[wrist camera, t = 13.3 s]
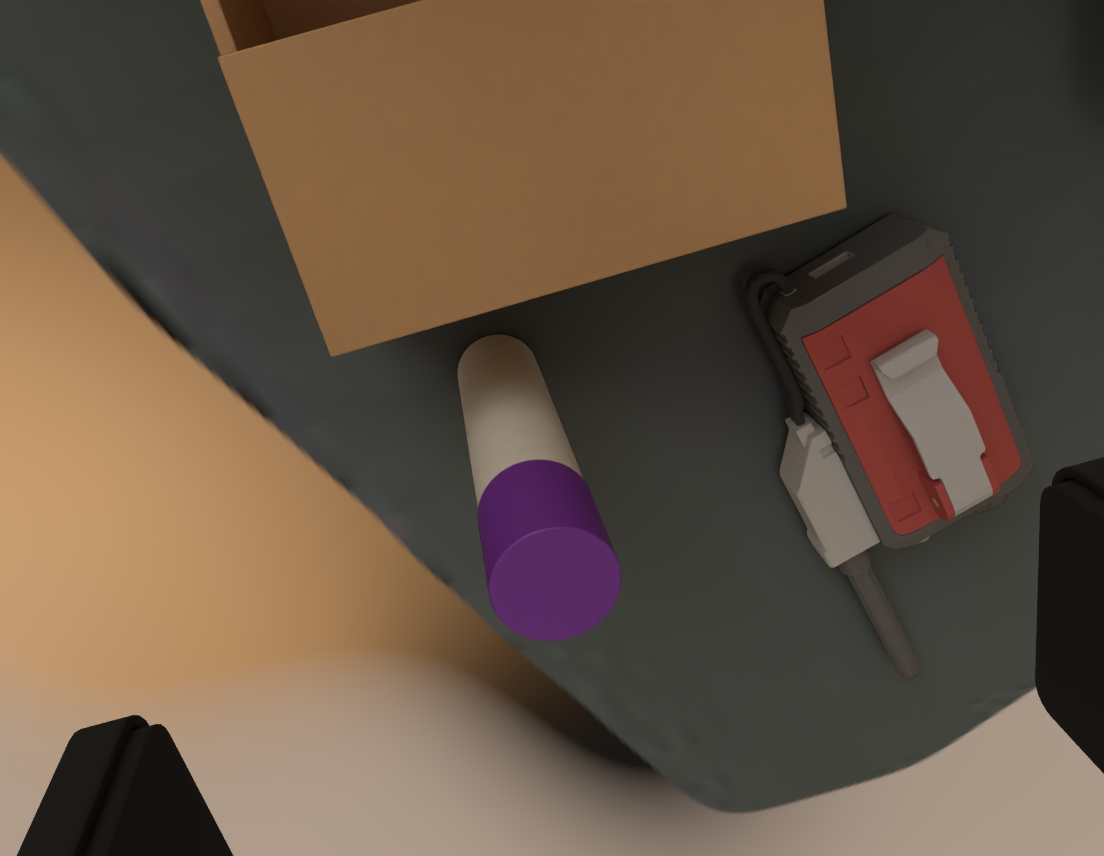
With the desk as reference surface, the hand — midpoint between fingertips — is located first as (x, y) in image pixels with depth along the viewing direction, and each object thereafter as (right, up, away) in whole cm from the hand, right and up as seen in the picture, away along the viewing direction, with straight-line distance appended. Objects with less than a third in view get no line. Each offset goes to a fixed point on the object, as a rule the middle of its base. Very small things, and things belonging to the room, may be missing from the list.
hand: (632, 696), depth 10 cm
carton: (-3, +16, +18) cm, 25 cm away
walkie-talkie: (+12, +2, +27) cm, 30 cm away
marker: (-3, +5, +23) cm, 24 cm away
